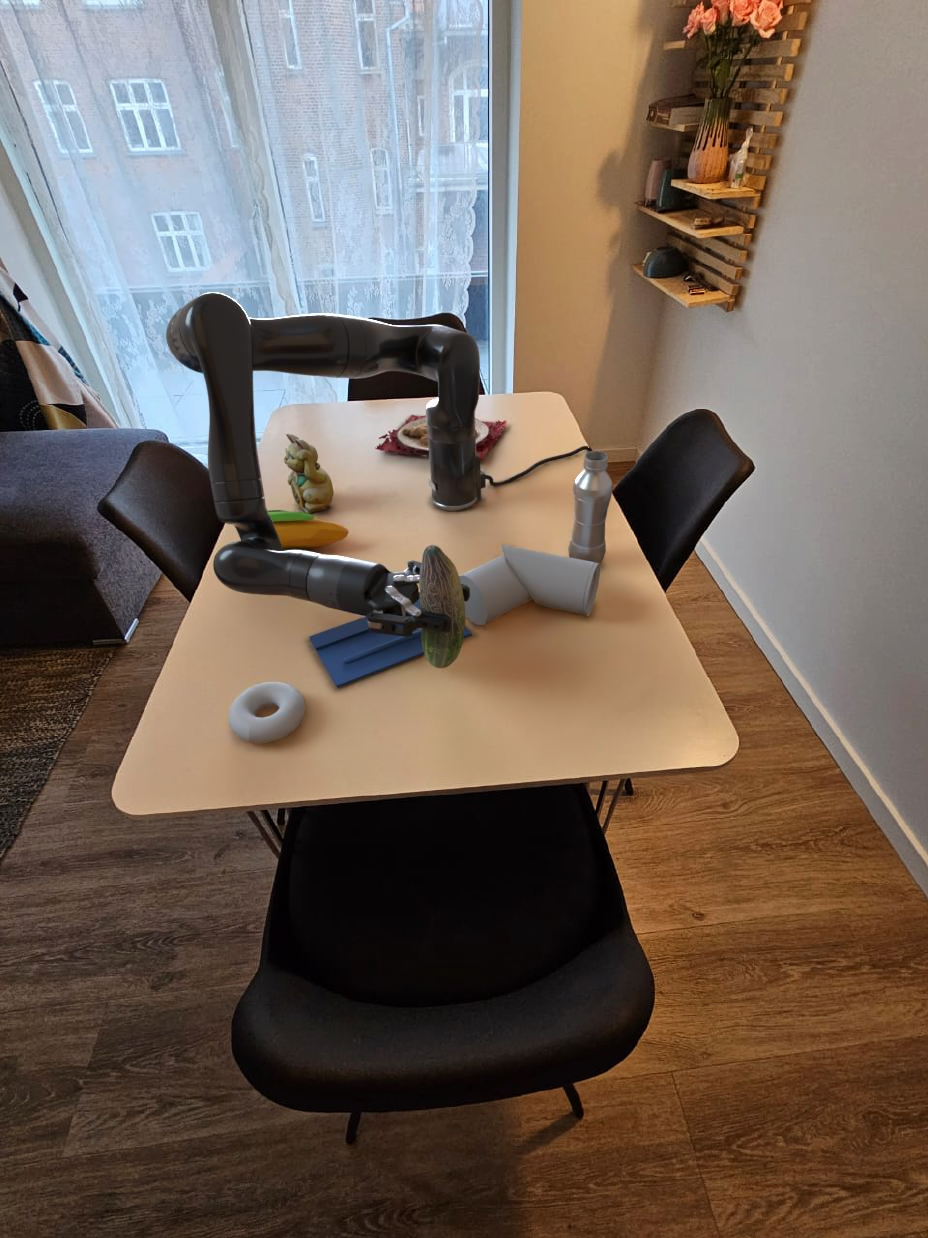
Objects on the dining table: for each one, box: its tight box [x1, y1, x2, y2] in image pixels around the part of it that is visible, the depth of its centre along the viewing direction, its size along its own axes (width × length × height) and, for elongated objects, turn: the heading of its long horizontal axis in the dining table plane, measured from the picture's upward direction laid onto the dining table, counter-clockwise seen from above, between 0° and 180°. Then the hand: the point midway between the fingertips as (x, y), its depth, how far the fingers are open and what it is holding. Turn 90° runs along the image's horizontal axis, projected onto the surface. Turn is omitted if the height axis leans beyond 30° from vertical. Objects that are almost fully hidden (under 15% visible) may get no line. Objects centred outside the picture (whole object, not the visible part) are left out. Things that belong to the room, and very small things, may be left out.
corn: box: [267, 509, 349, 552], centre depth 119 cm, size 7×8×20 cm
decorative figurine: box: [283, 433, 335, 514], centre depth 129 cm, size 10×8×15 cm
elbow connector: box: [458, 544, 601, 626], centre depth 102 cm, size 18×11×20 cm
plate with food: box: [374, 414, 508, 460], centre depth 156 cm, size 24×26×4 cm
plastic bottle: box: [567, 450, 614, 564], centre depth 108 cm, size 6×7×20 cm
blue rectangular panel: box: [308, 600, 473, 689], centre depth 100 cm, size 22×12×1 cm, turn 119°
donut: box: [228, 681, 306, 744], centre depth 87 cm, size 10×4×10 cm
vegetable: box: [418, 544, 466, 669], centre depth 87 cm, size 6×6×20 cm
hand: (459, 608), depth 86 cm, fingers closed on vegetable, 6 cm apart
